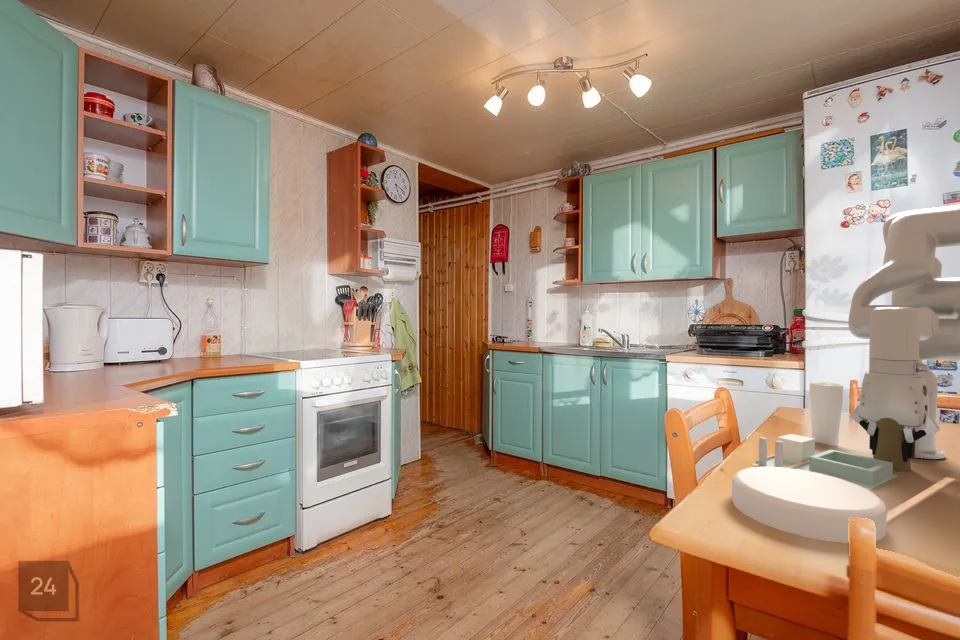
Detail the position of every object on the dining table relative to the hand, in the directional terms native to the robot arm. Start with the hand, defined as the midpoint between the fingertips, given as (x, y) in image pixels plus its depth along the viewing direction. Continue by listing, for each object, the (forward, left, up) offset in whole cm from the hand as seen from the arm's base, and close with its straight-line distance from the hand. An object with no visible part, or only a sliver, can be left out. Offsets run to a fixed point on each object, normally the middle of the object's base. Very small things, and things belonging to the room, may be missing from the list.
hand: (891, 456), depth 94 cm
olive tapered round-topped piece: (0, 0, -2) cm, 2 cm away
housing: (+12, -12, -2) cm, 17 cm away
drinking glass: (-13, -16, -3) cm, 21 cm away
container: (+38, 0, -4) cm, 38 cm away
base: (+15, -6, -3) cm, 17 cm away
